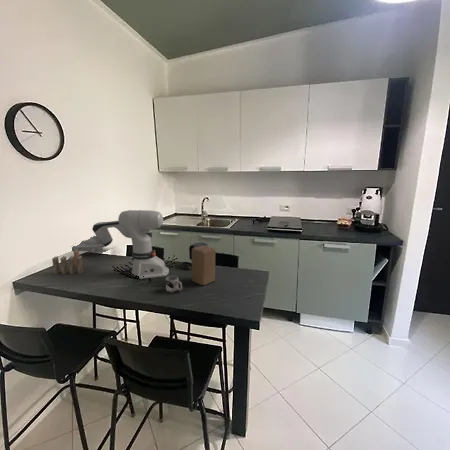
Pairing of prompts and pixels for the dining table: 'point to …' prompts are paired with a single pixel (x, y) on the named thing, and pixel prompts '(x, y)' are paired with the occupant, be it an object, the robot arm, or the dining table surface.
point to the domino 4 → (76, 257)
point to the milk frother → (191, 254)
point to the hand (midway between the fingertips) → (83, 251)
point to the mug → (173, 284)
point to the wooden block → (203, 265)
